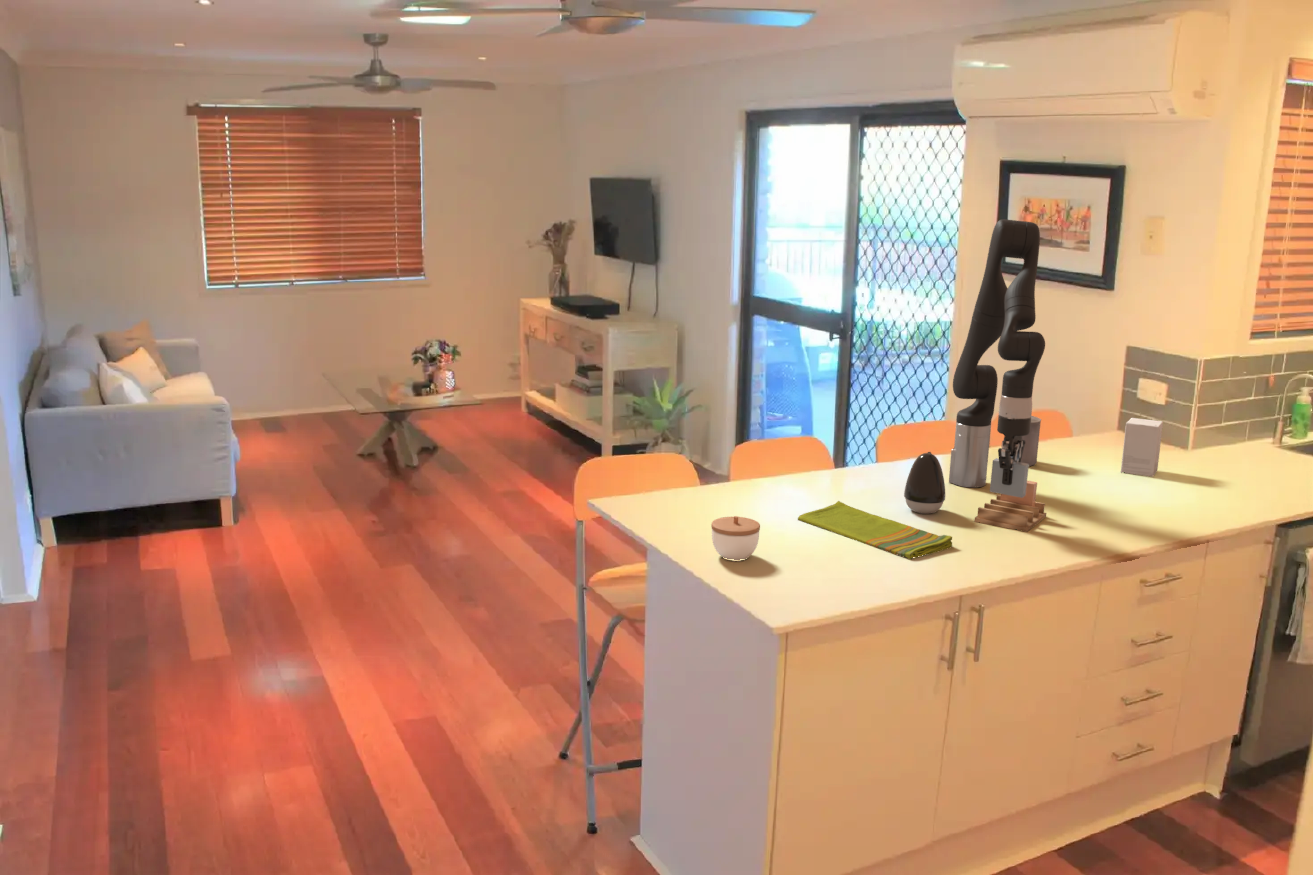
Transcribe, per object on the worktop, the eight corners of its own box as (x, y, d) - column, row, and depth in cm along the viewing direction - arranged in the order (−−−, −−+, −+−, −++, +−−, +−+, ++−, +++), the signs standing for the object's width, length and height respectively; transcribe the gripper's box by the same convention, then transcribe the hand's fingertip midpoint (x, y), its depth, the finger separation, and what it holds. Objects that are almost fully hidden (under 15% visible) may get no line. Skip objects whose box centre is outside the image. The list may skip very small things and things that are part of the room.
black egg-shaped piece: (945, 507, 281) (950, 450, 278) (942, 518, 272) (947, 459, 268) (905, 503, 285) (909, 446, 281) (900, 514, 275) (904, 455, 272)
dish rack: (974, 521, 270) (975, 507, 269) (995, 507, 282) (996, 494, 281) (1027, 531, 263) (1028, 518, 262) (1046, 516, 275) (1047, 503, 274)
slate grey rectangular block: (989, 491, 268) (992, 460, 266) (993, 489, 270) (996, 458, 268) (1022, 497, 264) (1025, 465, 262) (1025, 495, 266) (1028, 463, 264)
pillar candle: (1000, 457, 332) (1004, 409, 328) (1033, 459, 331) (1038, 410, 327) (1005, 466, 323) (1010, 416, 319) (1039, 467, 321) (1044, 418, 318)
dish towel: (911, 562, 242) (912, 549, 242) (796, 522, 270) (796, 509, 269) (954, 549, 252) (955, 535, 251) (838, 511, 279) (839, 499, 278)
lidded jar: (707, 549, 248) (708, 509, 245) (754, 548, 249) (755, 509, 246) (714, 565, 237) (715, 524, 235) (762, 564, 238) (764, 524, 236)
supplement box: (1158, 470, 320) (1164, 420, 316) (1153, 477, 313) (1159, 426, 309) (1125, 465, 325) (1131, 416, 321) (1119, 472, 317) (1125, 422, 314)
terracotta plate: (999, 509, 277) (1002, 478, 275) (1002, 506, 279) (1005, 476, 277) (1031, 515, 273) (1034, 484, 271) (1034, 512, 275) (1037, 482, 273)
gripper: (1008, 407, 270) (1002, 474, 274) (989, 416, 259) (983, 486, 263) (1039, 411, 266) (1032, 479, 270) (1021, 421, 255) (1014, 492, 259)
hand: (1008, 483), depth 266 cm, fingers closed on slate grey rectangular block, 2 cm apart
